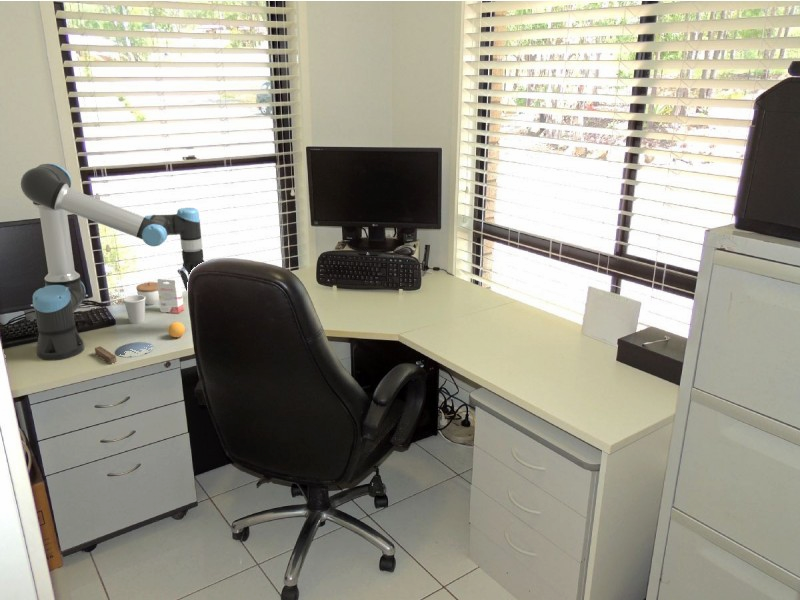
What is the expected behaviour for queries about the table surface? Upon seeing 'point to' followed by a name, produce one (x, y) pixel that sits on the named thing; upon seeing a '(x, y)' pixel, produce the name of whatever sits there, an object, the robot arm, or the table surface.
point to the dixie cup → (135, 308)
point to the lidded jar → (149, 292)
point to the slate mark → (133, 347)
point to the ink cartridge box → (170, 296)
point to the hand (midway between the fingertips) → (198, 307)
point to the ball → (176, 329)
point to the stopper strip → (105, 355)
